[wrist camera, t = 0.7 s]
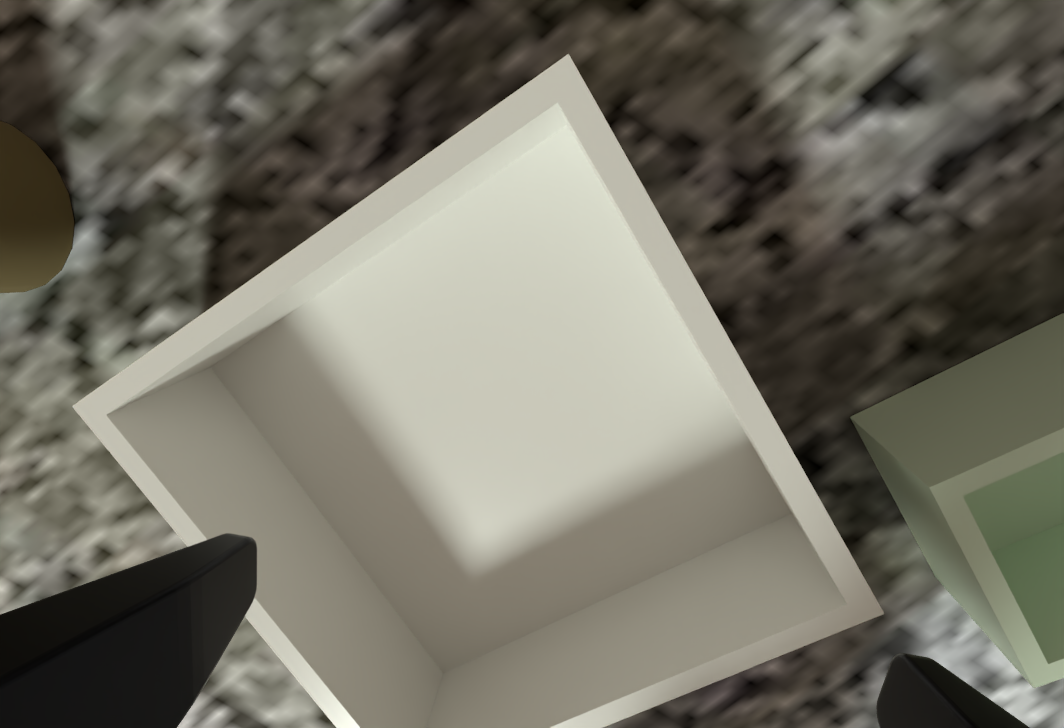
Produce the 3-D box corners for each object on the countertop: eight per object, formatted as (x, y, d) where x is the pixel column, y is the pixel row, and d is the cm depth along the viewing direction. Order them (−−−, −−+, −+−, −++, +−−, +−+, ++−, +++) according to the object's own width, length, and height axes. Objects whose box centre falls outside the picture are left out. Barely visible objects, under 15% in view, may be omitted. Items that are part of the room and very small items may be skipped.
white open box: (812, 508, 21) (884, 613, 16) (443, 677, 25) (402, 808, 20) (576, 93, 18) (568, 53, 13) (198, 354, 22) (71, 406, 17)
